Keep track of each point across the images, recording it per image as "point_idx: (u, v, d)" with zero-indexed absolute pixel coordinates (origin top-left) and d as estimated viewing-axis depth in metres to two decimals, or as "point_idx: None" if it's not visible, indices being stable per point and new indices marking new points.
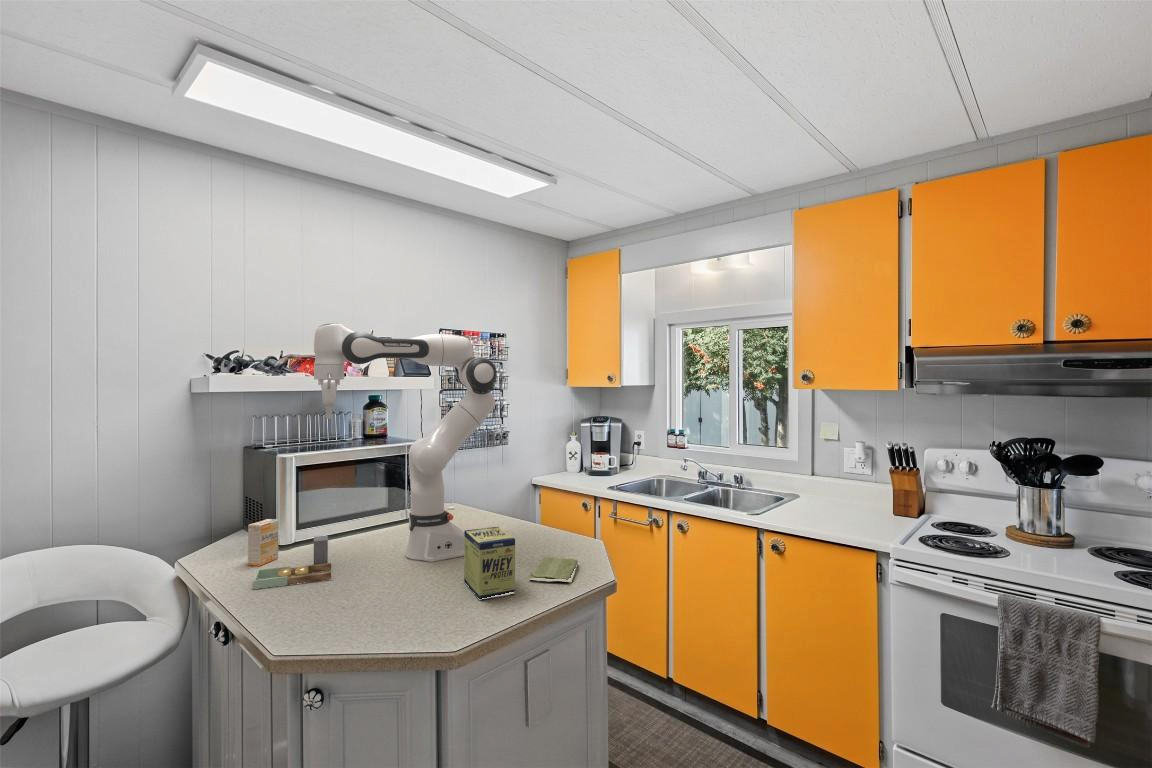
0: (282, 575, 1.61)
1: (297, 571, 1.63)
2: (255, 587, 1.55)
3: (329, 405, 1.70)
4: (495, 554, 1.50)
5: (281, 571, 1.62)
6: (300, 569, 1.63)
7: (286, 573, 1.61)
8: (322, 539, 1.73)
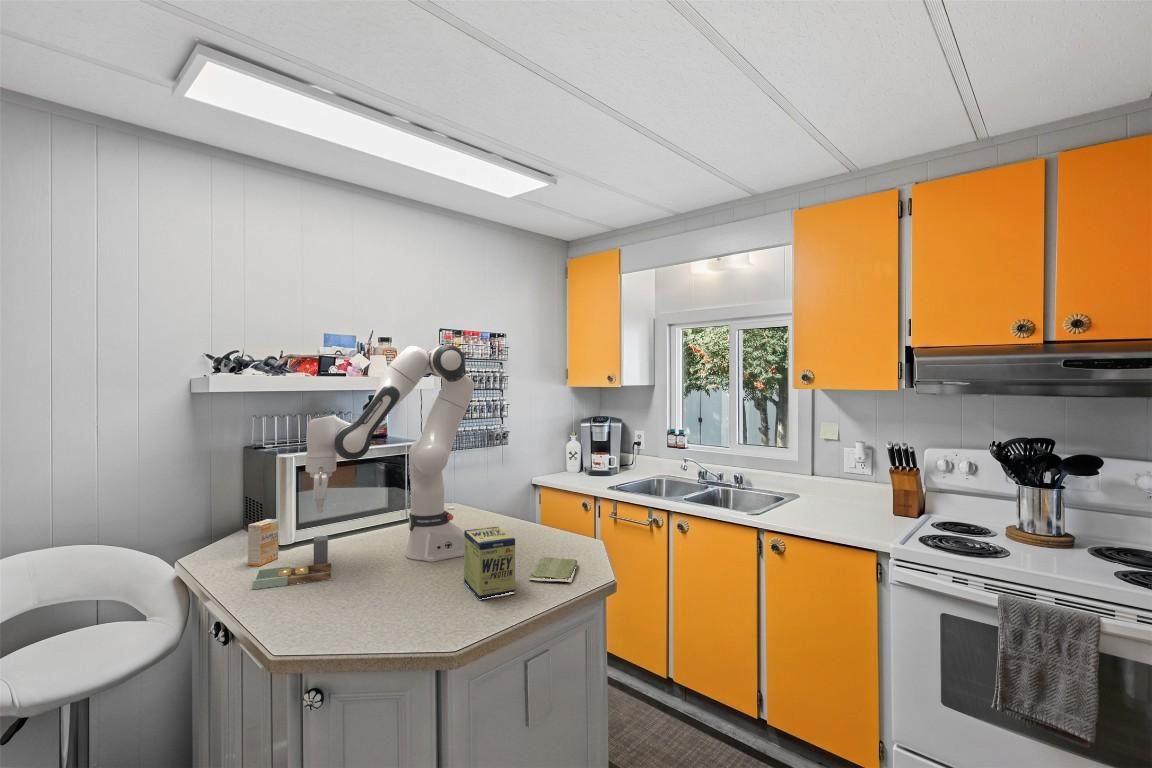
0: (282, 575, 1.61)
1: (297, 571, 1.63)
2: (255, 587, 1.55)
3: (320, 500, 1.69)
4: (495, 554, 1.50)
5: (281, 571, 1.62)
6: (300, 569, 1.63)
7: (286, 573, 1.61)
8: (322, 539, 1.73)
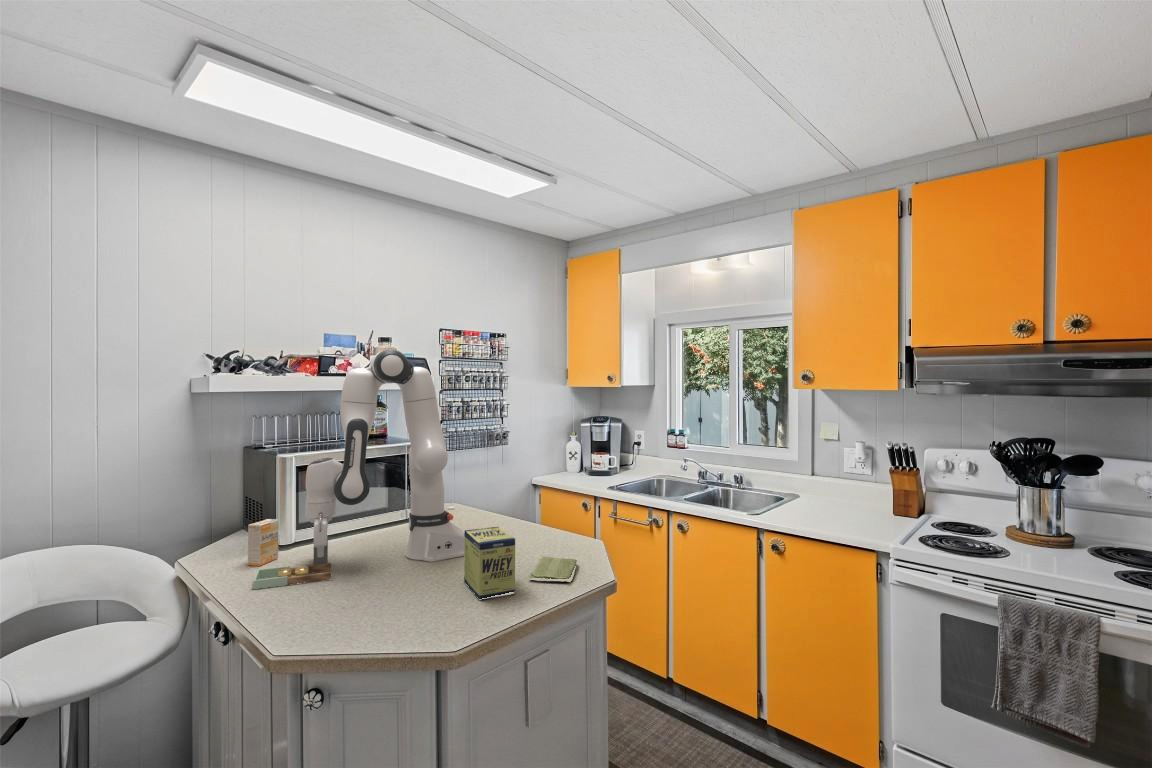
0: (282, 575, 1.61)
1: (297, 571, 1.63)
2: (255, 587, 1.55)
3: None
4: (495, 554, 1.50)
5: (281, 571, 1.62)
6: (300, 569, 1.63)
7: (286, 573, 1.61)
8: None
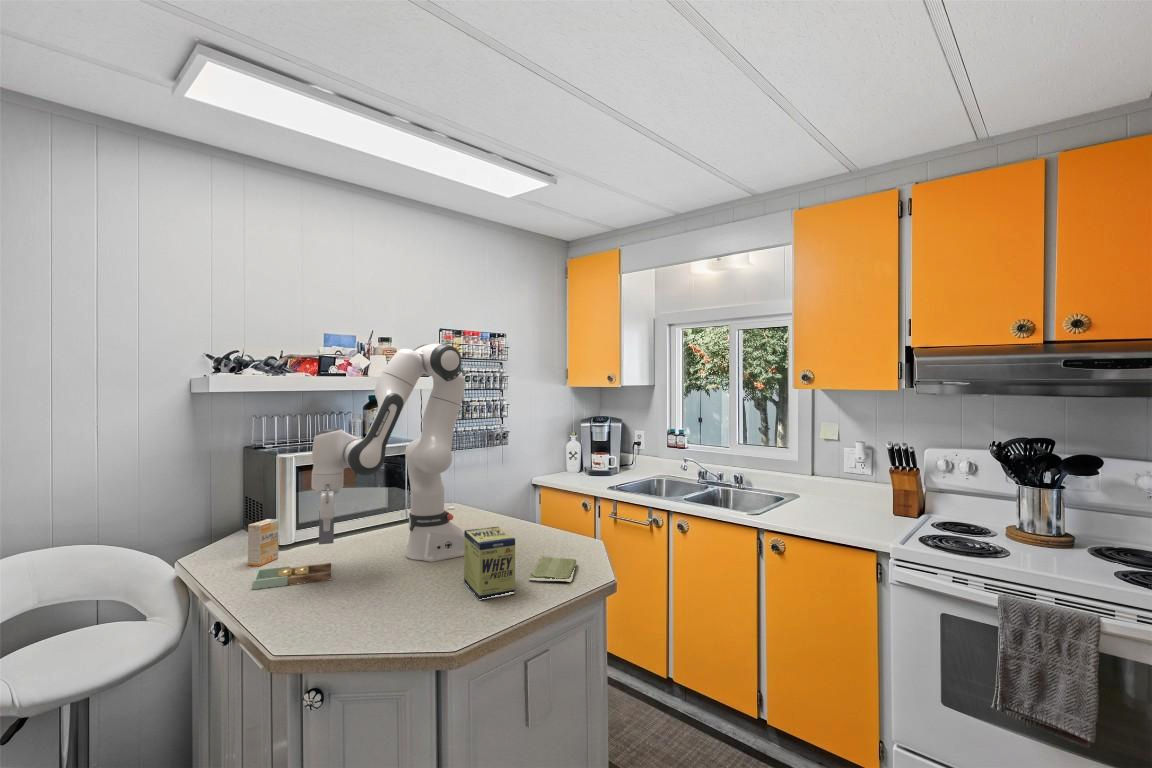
0: (282, 575, 1.61)
1: (297, 571, 1.63)
2: (255, 587, 1.55)
3: None
4: (495, 554, 1.50)
5: (281, 571, 1.62)
6: (300, 569, 1.63)
7: (286, 573, 1.61)
8: None
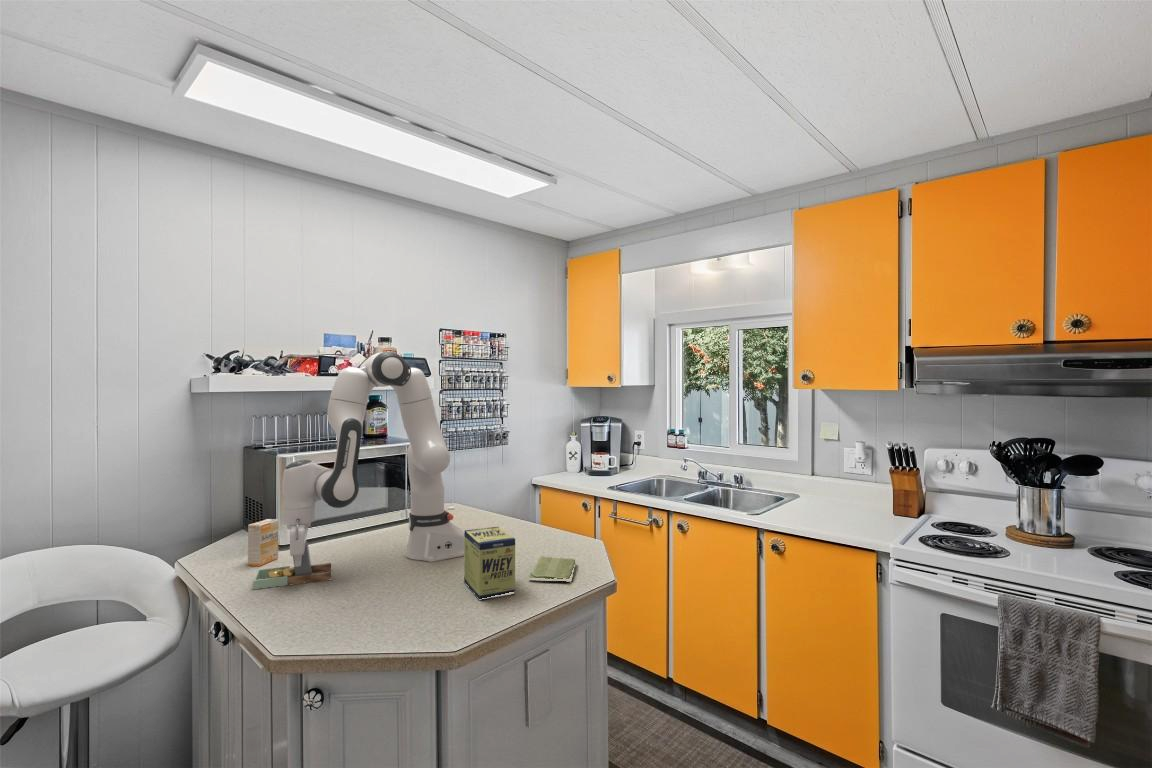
0: (273, 576, 1.60)
1: (284, 572, 1.61)
2: (255, 587, 1.55)
3: None
4: (495, 554, 1.50)
5: (272, 572, 1.61)
6: (287, 570, 1.62)
7: (277, 574, 1.60)
8: None
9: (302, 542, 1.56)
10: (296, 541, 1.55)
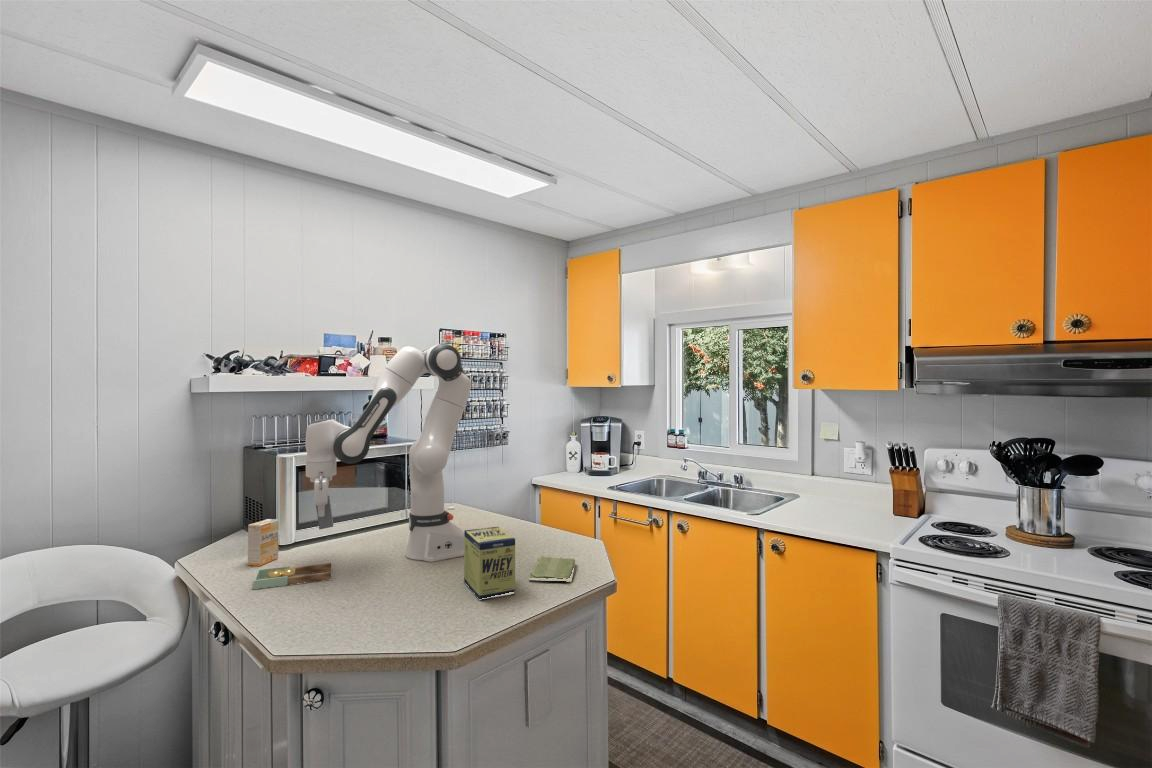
0: (272, 576, 1.60)
1: (284, 573, 1.61)
2: (255, 587, 1.55)
3: None
4: (495, 554, 1.50)
5: (271, 572, 1.61)
6: (287, 571, 1.62)
7: (276, 574, 1.60)
8: None
9: (325, 492, 1.66)
10: (320, 491, 1.66)
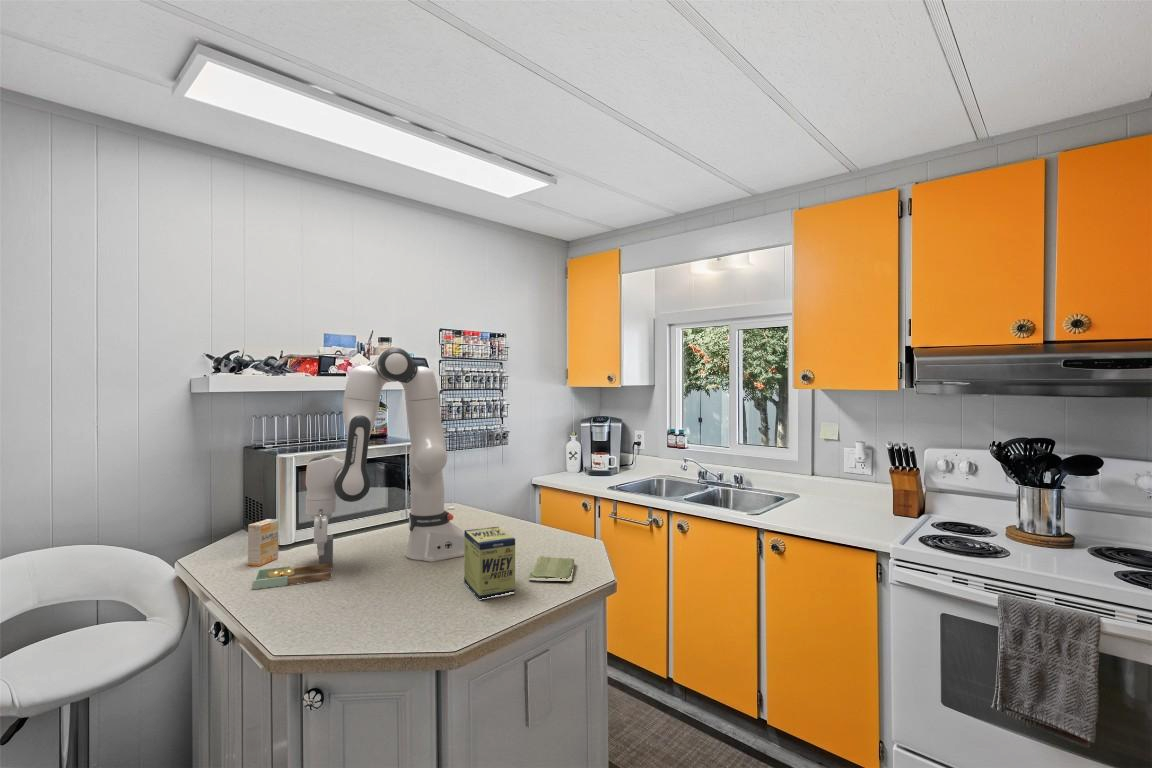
0: (272, 576, 1.60)
1: (284, 573, 1.61)
2: (255, 587, 1.55)
3: None
4: (495, 554, 1.50)
5: (271, 572, 1.61)
6: (287, 571, 1.62)
7: (276, 574, 1.60)
8: (327, 538, 1.74)
9: (325, 531, 1.66)
10: (320, 530, 1.66)
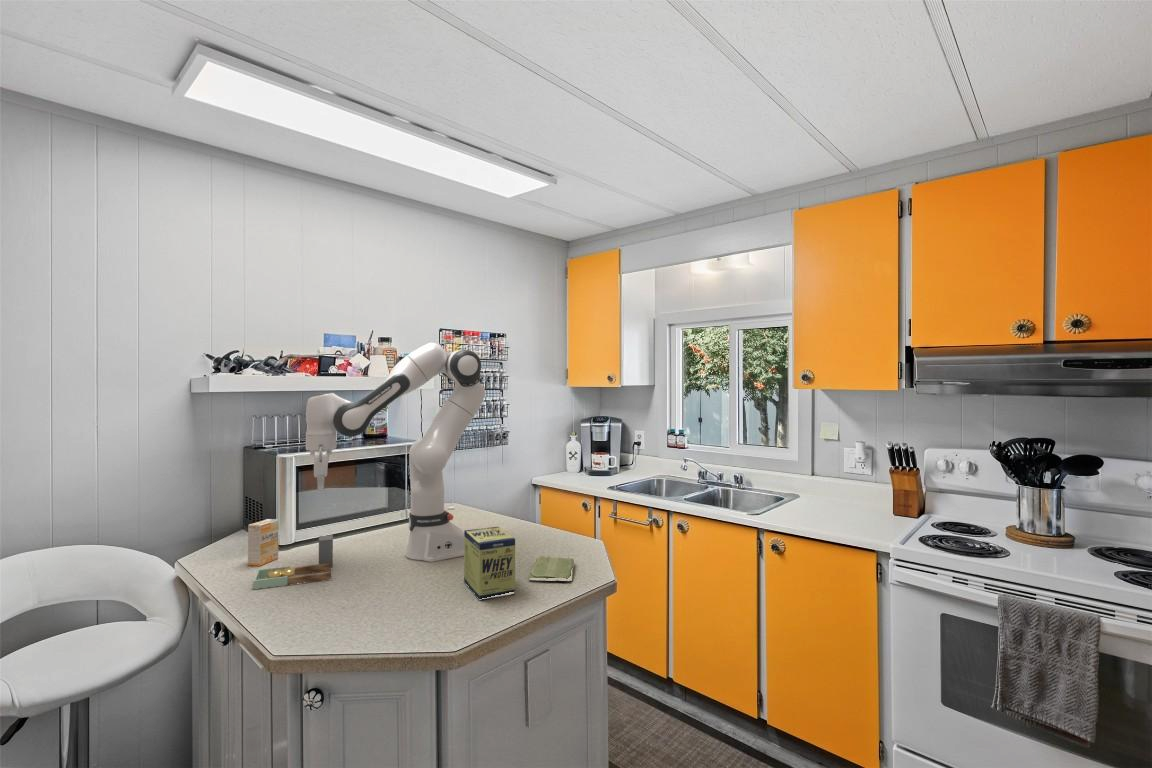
0: (272, 576, 1.60)
1: (284, 573, 1.61)
2: (255, 587, 1.55)
3: (321, 477, 1.69)
4: (495, 554, 1.50)
5: (271, 572, 1.61)
6: (287, 571, 1.62)
7: (276, 574, 1.60)
8: (327, 538, 1.74)
9: (325, 465, 1.66)
10: (320, 463, 1.66)
